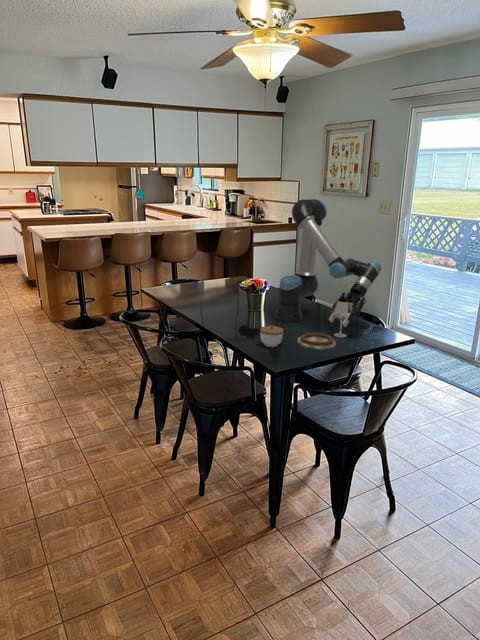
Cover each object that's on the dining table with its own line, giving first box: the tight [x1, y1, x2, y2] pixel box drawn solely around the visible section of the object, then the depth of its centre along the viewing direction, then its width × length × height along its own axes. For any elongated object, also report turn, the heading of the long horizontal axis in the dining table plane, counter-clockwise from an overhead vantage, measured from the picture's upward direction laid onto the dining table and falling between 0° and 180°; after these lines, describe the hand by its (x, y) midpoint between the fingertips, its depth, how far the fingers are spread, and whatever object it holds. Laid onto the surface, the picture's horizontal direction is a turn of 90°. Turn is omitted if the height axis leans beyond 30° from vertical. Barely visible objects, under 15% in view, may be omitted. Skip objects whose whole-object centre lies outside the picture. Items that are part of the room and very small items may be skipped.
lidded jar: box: [259, 325, 284, 348], centre depth 222 cm, size 11×11×9 cm
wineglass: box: [333, 299, 352, 339], centre depth 237 cm, size 8×8×18 cm
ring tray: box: [297, 332, 337, 351], centre depth 227 cm, size 18×18×3 cm
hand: (336, 323), depth 236 cm, fingers closed on wineglass, 8 cm apart
